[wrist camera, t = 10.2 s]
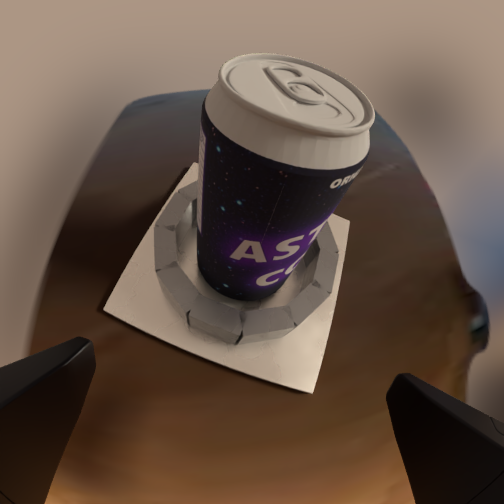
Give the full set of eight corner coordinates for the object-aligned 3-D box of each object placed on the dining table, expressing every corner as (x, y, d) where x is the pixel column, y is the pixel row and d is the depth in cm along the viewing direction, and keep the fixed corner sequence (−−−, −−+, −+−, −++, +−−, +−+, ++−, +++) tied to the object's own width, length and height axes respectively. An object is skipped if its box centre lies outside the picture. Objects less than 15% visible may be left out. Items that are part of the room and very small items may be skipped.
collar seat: (308, 393, 15) (331, 392, 12) (106, 312, 15) (88, 294, 12) (346, 225, 21) (364, 201, 19) (193, 167, 22) (195, 138, 19)
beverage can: (212, 317, 15) (243, 147, 5) (186, 234, 18) (188, 50, 7) (300, 290, 17) (418, 142, 7) (267, 217, 19) (326, 56, 9)
